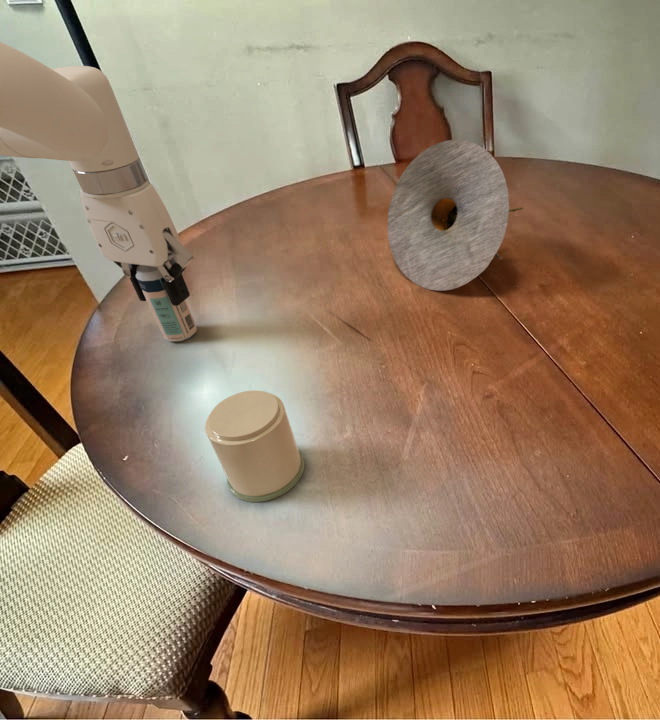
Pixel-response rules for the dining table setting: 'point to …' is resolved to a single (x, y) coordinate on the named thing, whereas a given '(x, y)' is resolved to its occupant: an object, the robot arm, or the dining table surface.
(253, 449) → the cup
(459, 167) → the disc
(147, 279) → the beer can
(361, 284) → the dining table surface
